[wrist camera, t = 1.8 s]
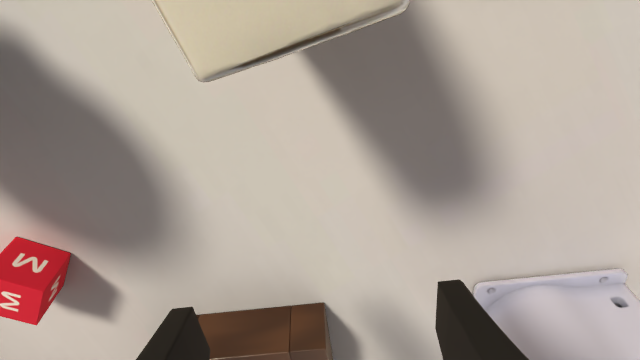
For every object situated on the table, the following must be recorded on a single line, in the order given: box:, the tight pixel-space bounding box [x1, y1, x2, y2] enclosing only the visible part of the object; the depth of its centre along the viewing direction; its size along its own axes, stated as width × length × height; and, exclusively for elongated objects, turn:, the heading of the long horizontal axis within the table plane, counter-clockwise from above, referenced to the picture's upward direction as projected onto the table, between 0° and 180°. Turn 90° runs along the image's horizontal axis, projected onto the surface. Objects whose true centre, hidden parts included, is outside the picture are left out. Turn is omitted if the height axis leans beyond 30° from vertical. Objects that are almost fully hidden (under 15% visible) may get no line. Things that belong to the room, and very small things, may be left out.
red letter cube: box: [0, 237, 71, 325], centre depth 23 cm, size 3×3×3 cm
